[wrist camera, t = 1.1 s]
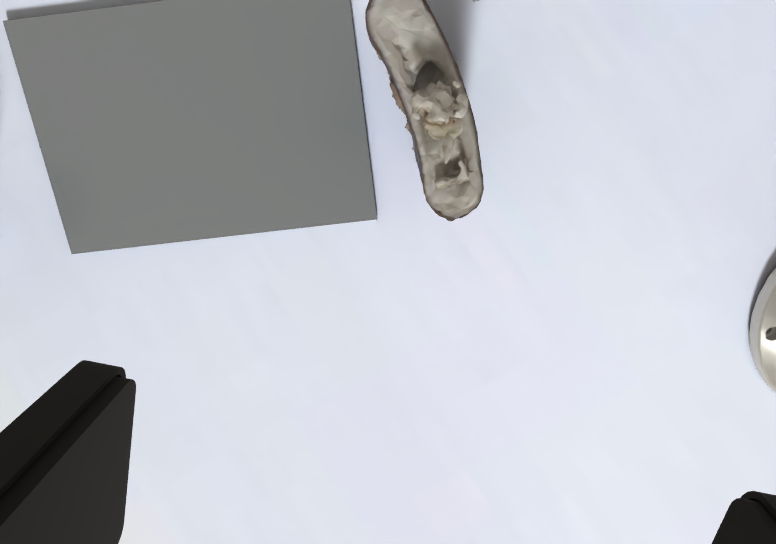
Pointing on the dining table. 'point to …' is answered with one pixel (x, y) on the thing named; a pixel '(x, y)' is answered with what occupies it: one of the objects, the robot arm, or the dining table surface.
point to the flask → (430, 103)
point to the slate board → (197, 118)
